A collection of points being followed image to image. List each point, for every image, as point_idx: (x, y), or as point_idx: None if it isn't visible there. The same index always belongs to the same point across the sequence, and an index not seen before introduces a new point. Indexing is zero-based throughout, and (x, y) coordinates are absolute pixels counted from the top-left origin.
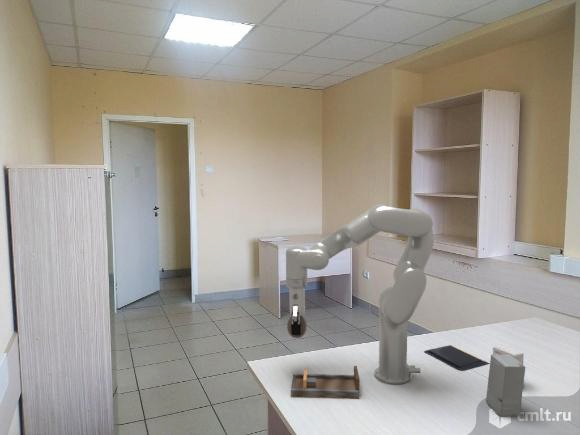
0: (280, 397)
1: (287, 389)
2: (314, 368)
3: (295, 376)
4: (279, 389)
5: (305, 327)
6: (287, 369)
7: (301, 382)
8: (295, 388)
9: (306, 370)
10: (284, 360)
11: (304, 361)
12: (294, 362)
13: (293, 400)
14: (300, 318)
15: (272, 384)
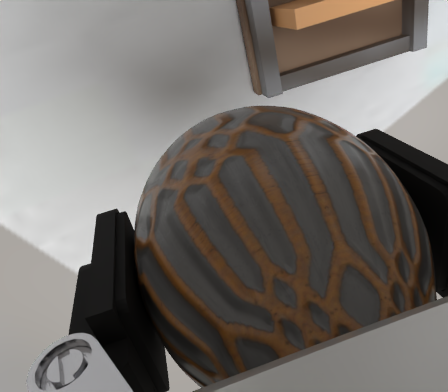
0: (410, 86)
1: (347, 82)
2: (82, 12)
3: (280, 76)
4: (350, 115)
5: (308, 117)
6: (159, 157)
7: (308, 28)
8: (369, 39)
9: (327, 2)
10: (65, 211)
11: (17, 107)
12: (62, 156)
13: (432, 21)
14: (415, 264)
15: None
